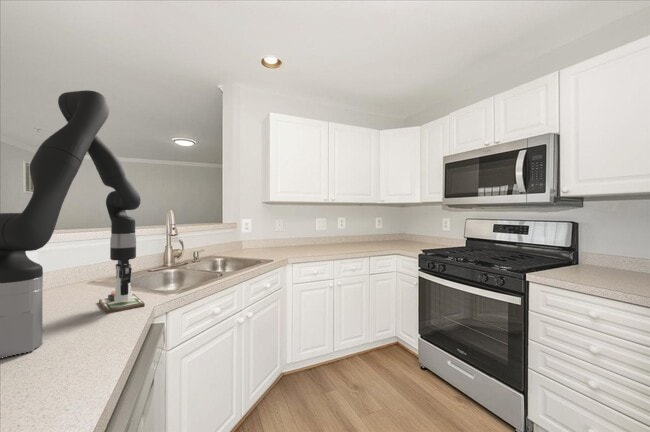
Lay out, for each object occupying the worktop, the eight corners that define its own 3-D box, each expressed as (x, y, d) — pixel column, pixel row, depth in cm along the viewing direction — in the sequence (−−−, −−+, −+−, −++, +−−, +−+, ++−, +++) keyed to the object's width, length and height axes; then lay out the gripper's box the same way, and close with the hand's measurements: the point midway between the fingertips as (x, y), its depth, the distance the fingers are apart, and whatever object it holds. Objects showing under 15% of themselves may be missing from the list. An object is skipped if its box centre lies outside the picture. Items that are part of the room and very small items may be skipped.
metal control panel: (144, 306, 101) (144, 299, 101) (106, 313, 93) (106, 306, 93) (133, 296, 112) (133, 290, 112) (99, 302, 105) (99, 295, 105)
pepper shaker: (110, 300, 99) (110, 269, 99) (126, 296, 104) (126, 267, 104) (119, 302, 96) (120, 271, 96) (135, 298, 101) (136, 268, 101)
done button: (126, 295, 106) (126, 291, 106) (113, 298, 103) (113, 293, 103) (124, 293, 109) (124, 289, 109) (111, 295, 106) (111, 291, 106)
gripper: (140, 246, 98) (140, 295, 98) (131, 243, 108) (131, 288, 108) (114, 248, 92) (113, 300, 92) (107, 245, 102) (106, 291, 102)
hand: (123, 293), depth 100 cm, fingers closed on pepper shaker, 3 cm apart
